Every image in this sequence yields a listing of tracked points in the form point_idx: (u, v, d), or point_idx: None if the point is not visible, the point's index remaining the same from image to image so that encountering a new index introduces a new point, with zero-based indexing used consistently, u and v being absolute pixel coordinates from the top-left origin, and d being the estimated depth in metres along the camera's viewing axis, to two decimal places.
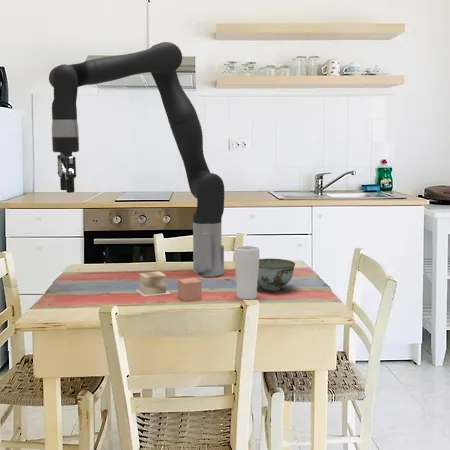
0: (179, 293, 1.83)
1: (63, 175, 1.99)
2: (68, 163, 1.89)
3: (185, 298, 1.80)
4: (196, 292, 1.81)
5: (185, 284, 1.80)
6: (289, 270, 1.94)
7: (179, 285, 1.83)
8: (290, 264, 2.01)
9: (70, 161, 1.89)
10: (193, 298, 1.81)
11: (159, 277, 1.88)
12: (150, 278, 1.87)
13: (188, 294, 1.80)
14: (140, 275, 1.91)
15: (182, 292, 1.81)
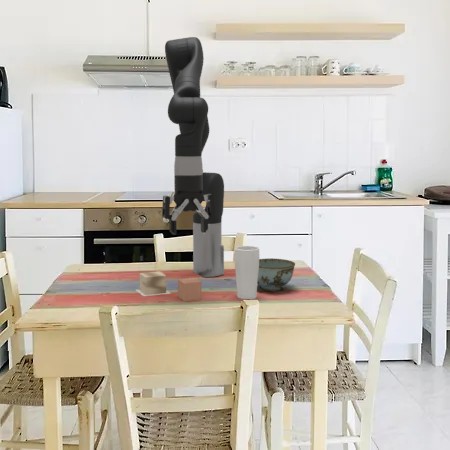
0: (179, 293, 1.83)
1: None
2: None
3: (185, 298, 1.80)
4: (196, 292, 1.81)
5: (185, 284, 1.80)
6: (289, 270, 1.94)
7: (179, 285, 1.83)
8: (290, 264, 2.01)
9: None
10: (193, 298, 1.81)
11: (159, 277, 1.88)
12: (150, 278, 1.87)
13: (188, 294, 1.80)
14: (140, 275, 1.91)
15: (182, 292, 1.81)
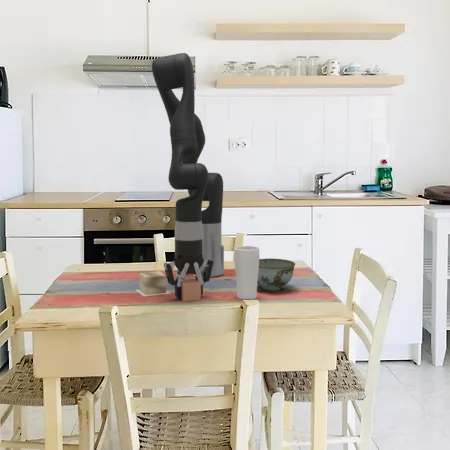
0: None
1: None
2: None
3: (184, 298, 1.80)
4: (196, 292, 1.81)
5: (184, 284, 1.80)
6: (289, 270, 1.94)
7: None
8: (290, 264, 2.01)
9: None
10: (192, 298, 1.81)
11: (159, 277, 1.88)
12: (150, 278, 1.87)
13: (187, 294, 1.80)
14: (140, 275, 1.91)
15: (182, 292, 1.81)
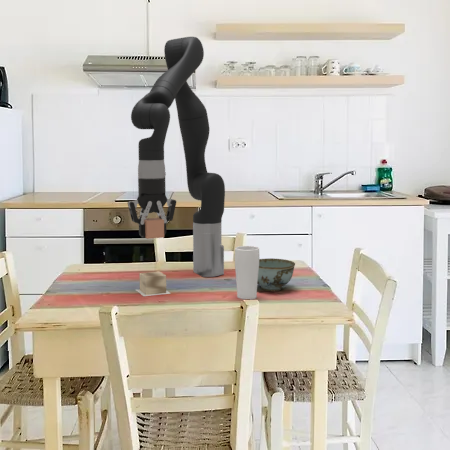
0: None
1: None
2: None
3: (147, 235, 1.85)
4: (159, 230, 1.86)
5: (148, 222, 1.85)
6: (289, 270, 1.94)
7: None
8: (290, 264, 2.01)
9: None
10: (156, 236, 1.86)
11: (159, 277, 1.88)
12: (150, 278, 1.87)
13: (151, 232, 1.85)
14: (140, 275, 1.91)
15: (145, 230, 1.86)
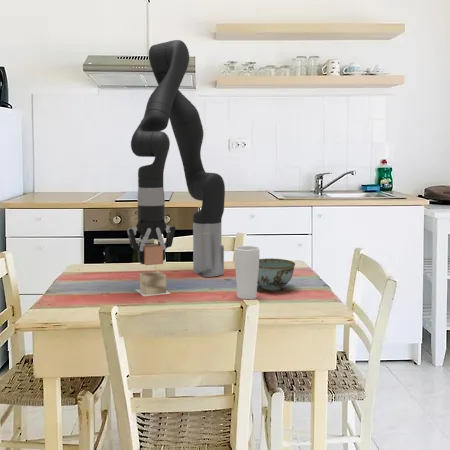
0: None
1: None
2: None
3: (146, 262, 1.86)
4: (158, 256, 1.87)
5: (147, 248, 1.86)
6: (289, 270, 1.94)
7: None
8: (290, 264, 2.01)
9: None
10: (154, 262, 1.87)
11: (159, 277, 1.88)
12: (150, 278, 1.87)
13: (149, 258, 1.86)
14: (140, 275, 1.91)
15: (144, 256, 1.87)
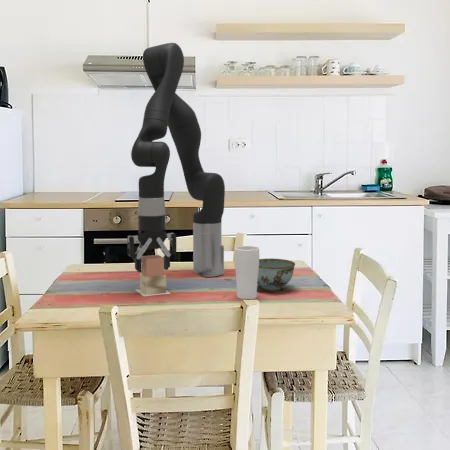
0: (142, 269, 1.90)
1: None
2: None
3: (147, 274, 1.87)
4: (159, 268, 1.88)
5: (147, 260, 1.86)
6: (289, 270, 1.94)
7: (142, 261, 1.90)
8: (290, 264, 2.01)
9: None
10: (155, 274, 1.88)
11: (159, 277, 1.88)
12: (150, 278, 1.87)
13: (151, 270, 1.87)
14: (140, 275, 1.91)
15: (145, 268, 1.87)
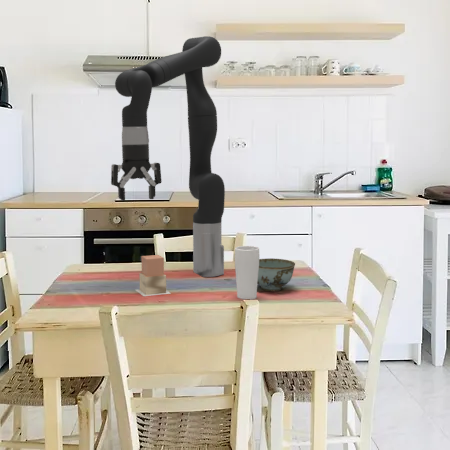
0: (142, 269, 1.90)
1: None
2: None
3: (147, 274, 1.87)
4: (159, 268, 1.88)
5: (147, 260, 1.86)
6: (289, 270, 1.94)
7: (142, 261, 1.90)
8: (290, 264, 2.01)
9: None
10: (155, 274, 1.88)
11: (159, 277, 1.88)
12: (150, 278, 1.87)
13: (151, 270, 1.87)
14: (140, 275, 1.91)
15: (145, 268, 1.87)
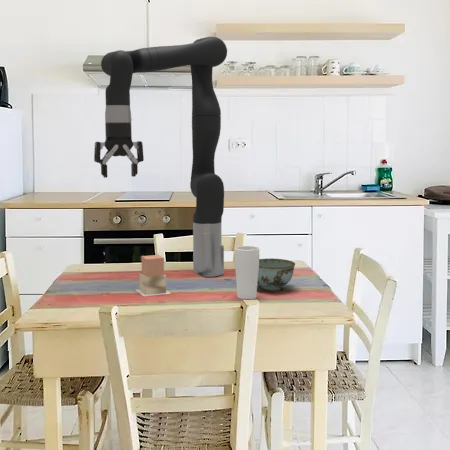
0: (142, 269, 1.90)
1: None
2: None
3: (147, 274, 1.87)
4: (159, 268, 1.88)
5: (147, 260, 1.86)
6: (289, 270, 1.94)
7: (142, 261, 1.90)
8: (290, 264, 2.01)
9: None
10: (155, 274, 1.88)
11: (159, 277, 1.88)
12: (150, 278, 1.87)
13: (151, 270, 1.87)
14: (140, 275, 1.91)
15: (145, 268, 1.87)
